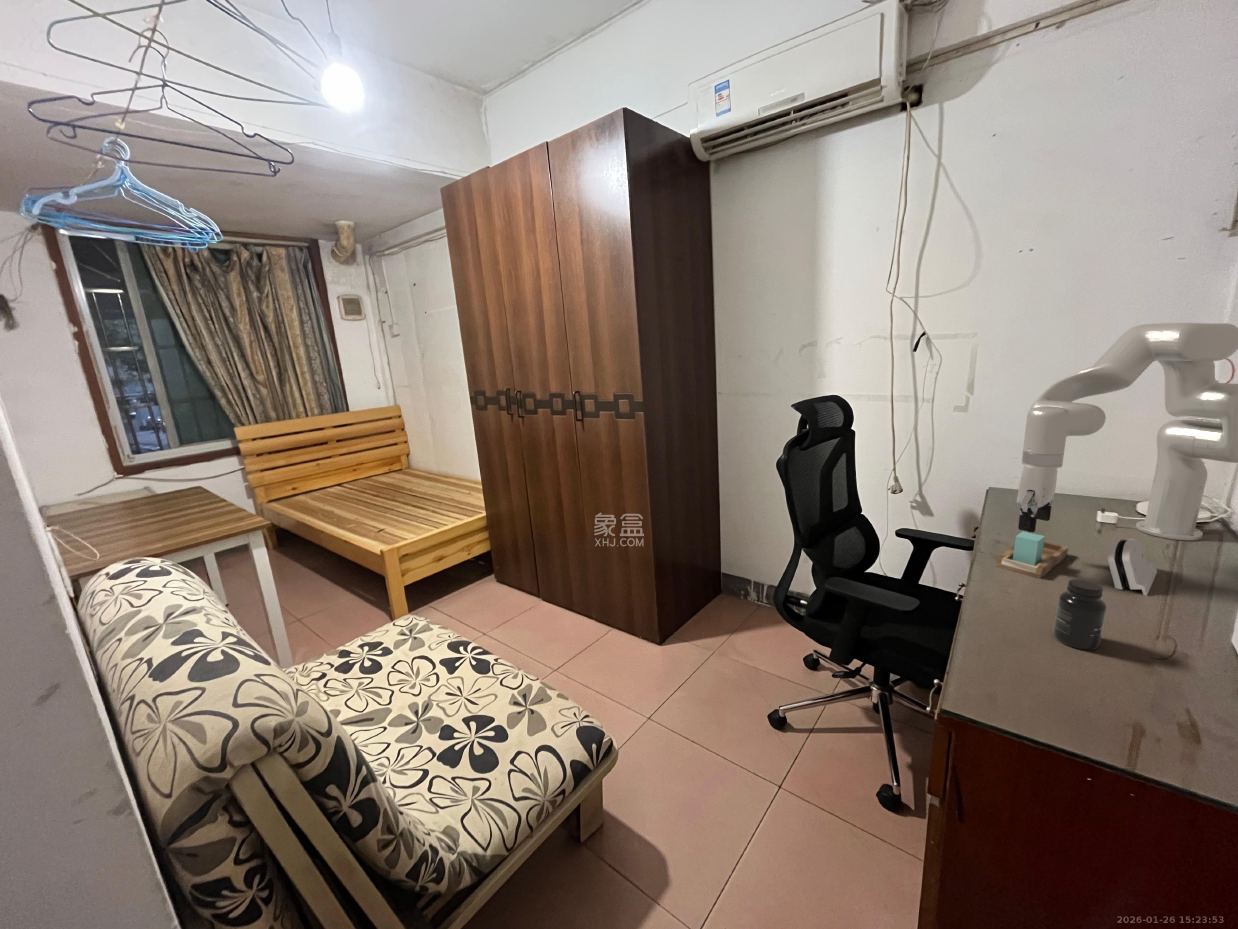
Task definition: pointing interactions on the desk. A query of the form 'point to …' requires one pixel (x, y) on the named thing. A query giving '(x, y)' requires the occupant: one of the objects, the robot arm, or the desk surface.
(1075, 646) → the supplement bottle
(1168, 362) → the robot arm
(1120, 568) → the white piece
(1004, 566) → the slot board
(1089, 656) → the desk surface
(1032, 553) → the aqua rectangular block
